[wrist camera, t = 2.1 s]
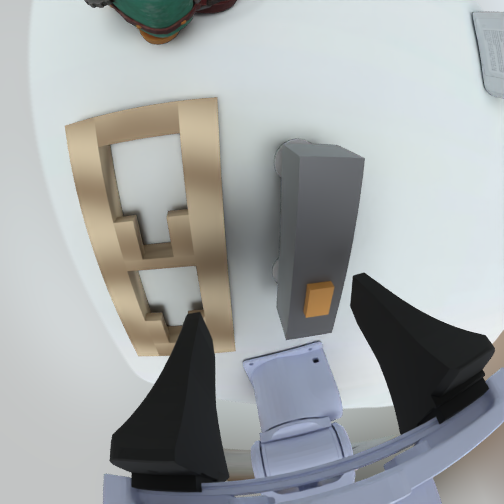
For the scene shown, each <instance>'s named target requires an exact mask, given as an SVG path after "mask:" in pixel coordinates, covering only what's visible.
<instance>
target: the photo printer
mask: <svg viewBox="0 0 504 504" xmlns="http://www.w3.org/2000/svg"><path fill="white" fill-rule="evenodd" d="M473 21H474V25H475V30H476V35H477V39H478V45H479V50H480V57H481V63H482V71H483V79H484V85H485V88H486V90H487V92H488V93H489V94H491V95H493V96H496V97H500V98H503V99H504V12H473Z"/></svg>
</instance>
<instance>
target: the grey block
mask: <svg viewBox="0 0 504 504" xmlns="http://www.w3.org/2000/svg"><path fill="white" fill-rule="evenodd" d="M364 161H365V158H363V157H361V156H359V155H357V154H355V153H353V152H351V151H349V150H347V149H345V148H343V147H340V146H338V145H327V144H312V143H310V142H308V141H306V140H303V139H292V140H289V141H287V142H285V143H284V144H282V145H281V146H280V147H279V149H278V150H277V152H276V155H275V158H274V166H275V169H276V172H277V174H278V175H279V176H280V178H281V179H282V180H281V217H280V246H279V258H278V259H277V260H276V261H275V263H274V265H273V268H272V274H273V277H274V280H275V281H276V283H277V284H278V290H277V310H278V314H279V317H280V321H281V324H282V327H283V331H284V334H285V338H286V340H290V339H296V338H303V337H309V336H315V335H321V334H326V333H332V329H333V326H334V322H335V318H336V314H337V310H338V307H339V303H340V298H341V294H342V290H343V286H344V281H345V277H346V272H347V268H348V263H349V258H350V253H351V248H352V243H353V237H354V232H355V226H356V220H357V214H358V208H359V201H360V194H361V186H362V179H363V170H364Z"/></svg>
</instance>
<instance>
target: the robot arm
mask: <svg viewBox="0 0 504 504" xmlns="http://www.w3.org/2000/svg"><path fill="white" fill-rule="evenodd" d="M350 307H351V309H352V312H353V314H354V317H355V319H356V322H357V324H358V326H359V328H360V329H361V331H362V333H363V335H364V337H365V338H366V340H367V342H368V344H369V345H370V347H371V349H372V351H373V353H374V355H375V356H376V358H377V360H378V362H379V365H380V367H381V369H382V372H383V375H384V377H385V380H386V383H387V386H388V389H389V392H390V395H391V398H392V401H393V405H394V408H395V412H396V416H397V421H398V425H399V430H400V434H401V435H400V436H398V437H396V438H394V439H391V440H389V441H387V442H385V443H382V444H380V445H377V446H375V447H372V448H370V449H367V450H365V451H362V452H359V453H357V454H354V455H353V451H352V446H351V443H350V440H349V437H348V434H347V432H346V430H345V429H344V427H343V426H342V425H339V424H338V423H337V422H334V423H332V424H331V421H333V420H336V419H338V418H340V417H342V415H343V409H342V402H341V398H340V394H339V391H338V388H337V385H336V382H335V380H334V377H333V374H332V372H331V369H330V366H329V364H328V361H327V359H326V356H325V353H324V351H323V349H322V343H321V342H316V343H313V344H309V345H306V346H302V347H299V348H295V349H291V350H288V351H284V352H280V353H276V354H272V355H268V356H264V357H259V358H255V359H251V360H246V361H244V362H243V367H244V369H245V371H246V373H247V375H248V377H249V380H250V382H251V384H252V386H253V388H254V391H255V397H256V403H257V408H258V414H259V420H260V426H261V431H262V433H260V440H261V441H255V442H254V444H253V446H252V447H251V460H252V466H253V471H254V475H255V479H248V480H240V481H229V482H225V481H226V480H227V479H228V478H229V473H228V469H227V465H226V460H225V456H224V451H223V446H222V441H221V436H220V430H219V424H218V417H217V411H216V396H215V354H214V346H213V339H212V337H211V335H210V332H209V330H208V328H207V326H206V323H205V321H204V319H203V317H202V314H201V312H195V313H190V314H187V316H186V318H185V321H184V323H183V326H182V329H181V331H180V334H179V336H178V339H177V341H176V343H175V346H174V348H173V350H172V352H171V355H170V357H169V359H168V361H167V363H166V365H165V367H164V369H163V371H162V372H161V374H160V376H159V378H158V379H157V381H156V383H155V384H154V386H153V387H152V389H151V390H150V392H149V393H148V395H147V396H146V398H145V399H144V400H143V402H142V403H141V404H140V406H139V407H138V408H137V409H136V411H135V412H134V413H133V414H132V415H131V417H130V418H129V419H128V420H127V421H126V422H125V423H124V424H123V425H122V426H121V427H120V428H119V429H118V430H117V431H116V432H115V433H114V434H113V435H112V440H111V449H110V462H111V463H112V464H113V465H115V466H117V467H119V468H122V469H124V470H126V471H129V472H131V473H132V478H130V477H125V476H118V475H111V474H104V484H103V486H104V487H103V504H442V502H441V499H440V496H439V493H438V491H437V488H436V485H435V482H434V480H433V477H434V476H436V475H437V474H439V473H440V472H442V471H443V470H445V469H446V468H448V467H449V466H451V465H452V464H453V463H455V462H456V461H458V460H459V459H460V458H462V457H463V456H464V455H466V454H467V453H468V452H470V451H471V450H472V449H473V448H475V447H476V446H477V445H478V444H480V443H481V442H482V441H483V440H484V439H485V438H487V437H488V436H489V435H490V434H491V433H492V432H493V431H494V430H495V429H497V428H498V427H499V426H500V425H501V424H502V423H503V422H504V368H503V367H502V368H501V369H499V370H498V371H497V372H496V373H494V374H493V375H492V376H491V377H489V378H488V379H487V380H486V381H485V380H484V379H483V377H484V376H485V373H484V371H483V370H482V369H483V368H484V367H485V365H486V364H487V363H488V361H489V360H490V359H491V357H492V356H493V354H494V352H495V348H494V346H493V345H492V343H491V342H490V341H489V339H488V338H487V337H486V335H482V334H478V333H474V332H470V331H466V330H463V329H460V328H457V327H454V326H452V325H449V324H447V323H444V322H442V321H440V320H437V319H435V318H433V317H431V316H429V315H427V314H425V313H424V312H422V311H420V310H418V309H416V308H415V307H413V306H411V305H410V304H408V303H407V302H405V301H404V300H402V299H401V298H399V297H398V296H396V295H395V294H393V293H392V292H390V291H389V290H388V289H386V288H385V287H383V286H382V285H381V284H379V283H378V282H377V281H375V280H374V279H372V278H371V277H370V276H368V275H367V274H365V273H361V274H357V275H354V276H353V281H352V293H351V304H350ZM415 443H416V444H415ZM413 444H415V445H414V447H412V448H410V449H408V450H406V451H405V452H403V453H401V454H399V455H397V456H395V458H394V459H392V460H391V461H389V462H387V463H386V464H384V469H385V471H384V472H381V473H379V474H376V475H374V476H371V477H369V478H366V479H363V480H361V481H358V482H355V483H354V481H355V479H354V478H355V471H354V470H356V469H358V468H361V467H364V466H366V465H369V464H372V463H374V462H376V461H379V460H381V459H384V458H386V457H388V456H391V455H393V454H395V453H397V452H399V451H401V450H403V449H405V448H408V447H410V446H411V445H413ZM256 493H261V496H252V497H238V498H236V497H234V496H237V495H247V494H256Z"/></svg>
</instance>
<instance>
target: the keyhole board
mask: <svg viewBox="0 0 504 504" xmlns="http://www.w3.org/2000/svg"><path fill="white" fill-rule="evenodd" d="M65 131H66V138H67V145H68V151H69V157H70V162H71V167H72V172H73V177H74V182H75V186H76V191H77V195H78V199H79V203H80V207H81V211H82V214H83V218H84V221H85V225H86V228H87V232H88V235H89V238H90V241H91V244H92V247H93V250H94V253H95V256H96V259H97V262H98V265H99V268H100V270H101V273H102V276H103V278H104V281H105V284H106V286H107V289H108V291H109V294H110V296H111V299H112V301H113V303H114V306H115V308H116V310H117V313H118V315H119V317H120V319H121V321H122V324H123V326H124V328H125V330H126V332H127V334H128V336H129V338H130V340H131V342H132V344H133V346H134V348H135V350H136V352H137V354H138V356H170V355H171V352H172V350H173V348H174V346H175V343H176V341H177V339H178V336H179V334H180V331H181V329H182V326H168V327H167V325H166V322H165V319H164V316H163V313H162V312H160V313H151V310H150V307H149V304H148V301H147V298H146V295H145V292H144V289H143V286H142V283H141V279H140V276H139V273H138V270H149V269H162V268H174V267H186V266H196V269H197V275H198V281H199V287H200V293H201V298H202V304H203V309H204V310H192V311H188V314H190V313H195V312H201V314H202V317H203V319H204V321H205V323H206V326H207V328H208V330H209V332H210V335H211V337H212V339H213V346H214V353H222V352H233V351H236V350H235V340H234V330H233V320H232V310H231V299H230V288H229V277H228V265H227V253H226V240H225V227H224V213H223V198H222V182H221V166H220V147H219V127H218V104H217V97H215V98H202V99H192V100H183V101H175V102H168V103H161V104H154V105H148V106H143V107H137V108H132V109H127V110H123V111H118V112H114V113H109V114H105V115H101V116H97V117H94V118H90V119H86V120H83V121H79V122H76V123H73V124H69V125H66V126H65ZM177 133H180V140H181V151H182V162H183V172H184V181H185V190H186V198H187V206H188V209H183V210H173V211H168V214H167V223H168V229H169V234H170V240H171V242H168V243H158V244H148V245H143V242H142V238H141V233H140V229H139V225H138V220H137V215H130V216H123V212H122V207H121V203H120V198H119V193H118V188H117V183H116V178H115V172H114V166H113V160H112V154H111V147H110V144H115V143H120V142H125V141H131V140H136V139H142V138H148V137H155V136H162V135H169V134H177Z"/></svg>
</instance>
